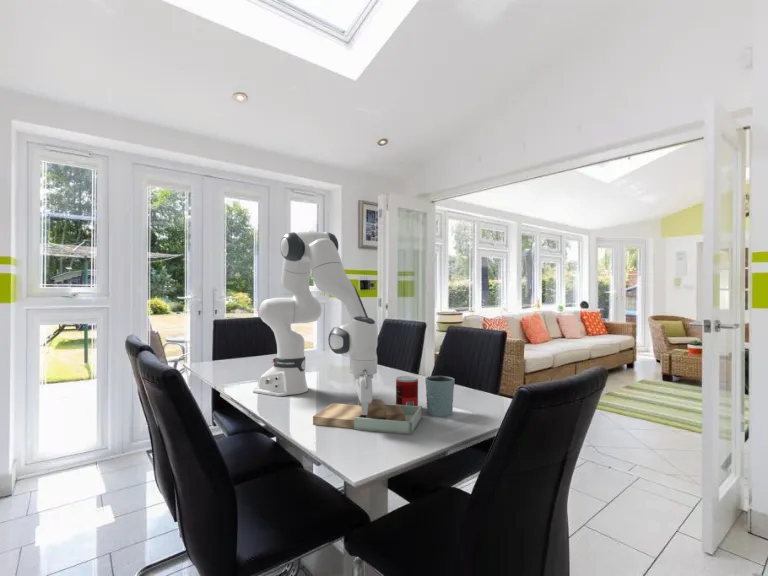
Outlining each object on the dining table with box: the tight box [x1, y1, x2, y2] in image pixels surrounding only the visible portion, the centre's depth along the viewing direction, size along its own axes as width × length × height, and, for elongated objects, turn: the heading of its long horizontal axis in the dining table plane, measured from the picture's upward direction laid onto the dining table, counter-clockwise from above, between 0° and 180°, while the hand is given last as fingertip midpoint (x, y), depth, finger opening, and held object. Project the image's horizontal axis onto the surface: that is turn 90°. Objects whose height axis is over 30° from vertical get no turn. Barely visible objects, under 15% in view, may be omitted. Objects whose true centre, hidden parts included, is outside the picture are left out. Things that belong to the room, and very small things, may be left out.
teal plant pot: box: [424, 375, 455, 418], centre depth 145 cm, size 10×10×12 cm
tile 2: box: [383, 404, 405, 421], centre depth 136 cm, size 6×10×3 cm, turn 9°
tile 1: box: [366, 398, 386, 418], centre depth 137 cm, size 6×10×3 cm, turn 9°
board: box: [312, 402, 366, 429], centre depth 138 cm, size 14×16×2 cm
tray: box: [353, 403, 423, 436], centre depth 134 cm, size 18×18×4 cm
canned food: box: [395, 375, 419, 406], centre depth 150 cm, size 8×8×11 cm
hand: (362, 409), depth 136 cm, fingers open, 8 cm apart
